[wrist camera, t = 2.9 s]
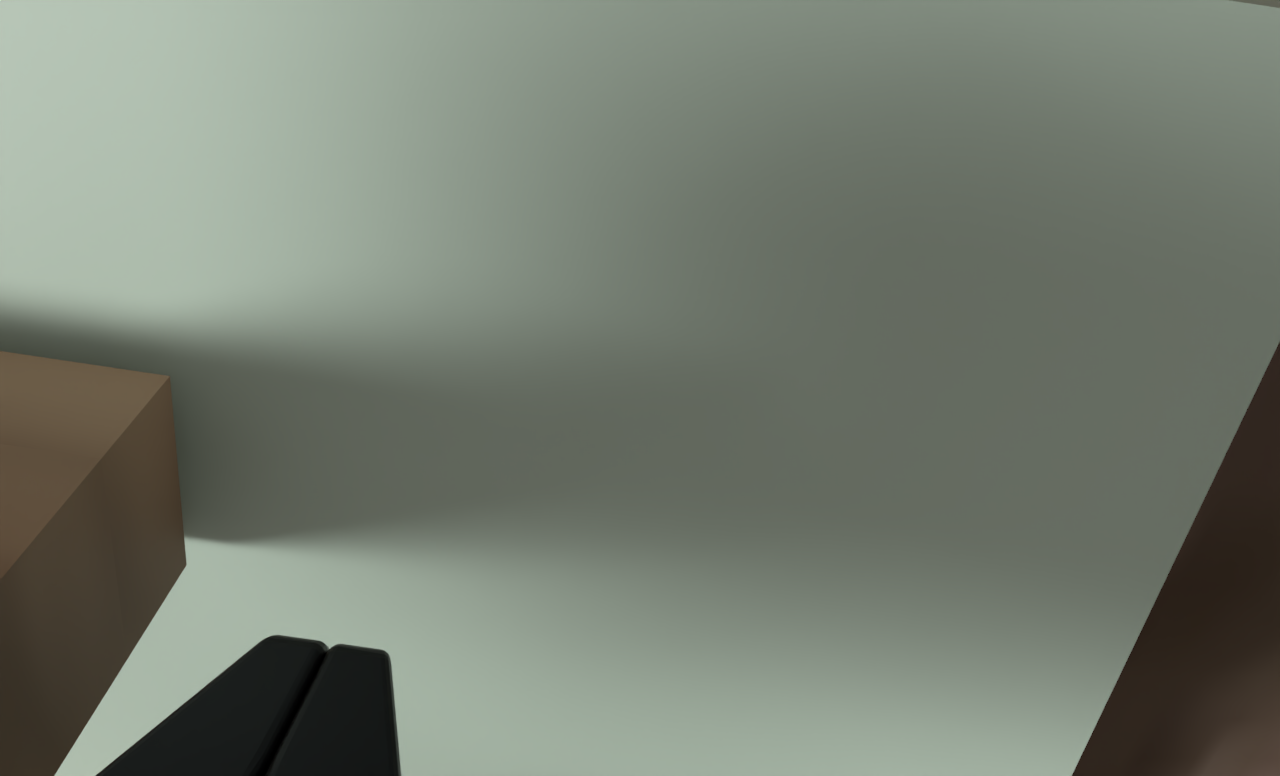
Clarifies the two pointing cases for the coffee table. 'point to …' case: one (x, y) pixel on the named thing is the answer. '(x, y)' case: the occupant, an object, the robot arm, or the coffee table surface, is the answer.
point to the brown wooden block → (78, 542)
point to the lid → (662, 352)
